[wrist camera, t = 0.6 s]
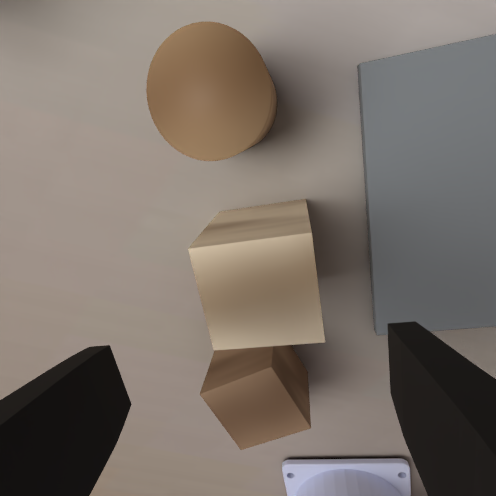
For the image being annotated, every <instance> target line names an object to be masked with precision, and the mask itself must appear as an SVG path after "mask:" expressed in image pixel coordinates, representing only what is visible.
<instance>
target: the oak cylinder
mask: <svg viewBox="0 0 496 496" xmlns="http://www.w3.org/2000/svg"><path fill="white" fill-rule="evenodd" d="M147 101H148V106H149V110H150V113H151V116H152V119H153V121H154V123H155V125H156V127H157V129H158V130H159V132H160V133H161V135H162V136H163V137H164V139H165V140H166V141H167V142H168V143H169V144H170V145H171V146H172V147H174V148H175V149H176V150H178V151H179V152H181V153H182V154H184V155H186V156H189V157H191V158H194V159H197V160H203V161H218V160H223V159H227V158H230V157H232V156H235V155H237V154H239V153H240V152H242V151H244V150H246V149H248V148H250V147H252V146H254V145H255V144H257V143H258V142H260V141H261V140H262V139H263V138H264V137H265V136H266V135H267V133H268V132H269V130H270V129H271V127H272V125H273V123H274V120H275V117H276V112H277V94H276V89H275V86H274V84H273V81H272V79H271V77H270V75H269V72H268V70H267V68H266V65H265V63H264V61H263V59H262V57H261V55H260V54H259V52H258V50H257V49H256V47H255V46H254V45H253V44H252V43H251V42H250V40H248V39H247V38H246V37H245V36H244V35H243V34H241V33H240V32H238V31H237V30H235V29H233V28H231V27H229V26H227V25H224V24H220V23H215V22H198V23H192V24H189V25H187V26H184V27H182V28H180V29H178V30H177V31H175V32H174V33H173V34H171V35H170V36H169V37H168V38H167V39H166V40H165V41H164V42H163V43H162V44H161V46H160V47H159V48H158V50H157V52H156V54H155V55H154V57H153V60H152V62H151V65H150V68H149V72H148V78H147Z"/></svg>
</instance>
